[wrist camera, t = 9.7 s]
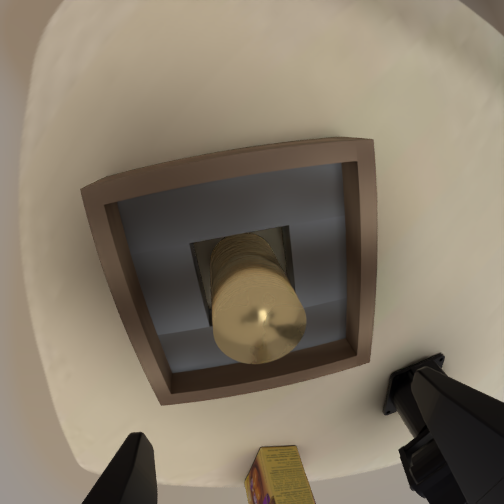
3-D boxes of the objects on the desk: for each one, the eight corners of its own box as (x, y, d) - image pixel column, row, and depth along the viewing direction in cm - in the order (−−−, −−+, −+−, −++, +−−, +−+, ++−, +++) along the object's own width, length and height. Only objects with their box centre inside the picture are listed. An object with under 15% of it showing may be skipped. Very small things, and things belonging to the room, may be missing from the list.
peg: (277, 285, 20) (308, 353, 14) (216, 296, 20) (223, 371, 14) (270, 226, 19) (303, 278, 12) (204, 238, 18) (203, 297, 12)
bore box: (347, 329, 23) (369, 362, 19) (165, 366, 22) (161, 405, 18) (340, 136, 17) (373, 139, 14) (105, 177, 16) (80, 189, 13)
